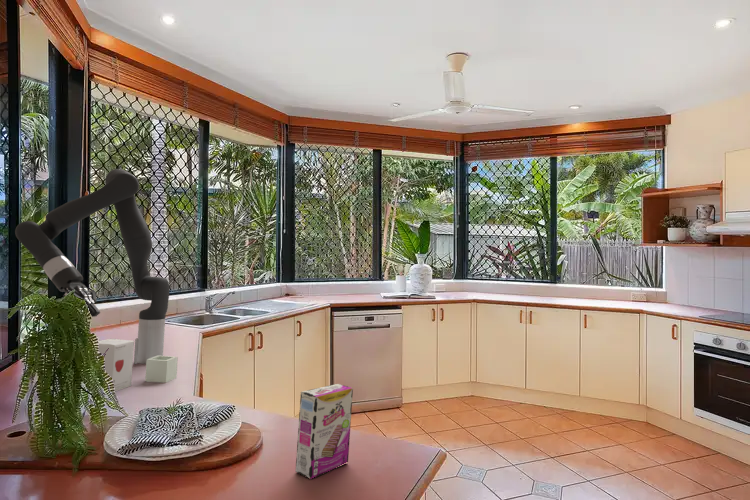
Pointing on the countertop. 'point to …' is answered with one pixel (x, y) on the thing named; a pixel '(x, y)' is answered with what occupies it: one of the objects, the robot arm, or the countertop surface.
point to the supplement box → (118, 361)
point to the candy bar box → (323, 429)
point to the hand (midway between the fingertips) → (96, 314)
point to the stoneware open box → (161, 369)
